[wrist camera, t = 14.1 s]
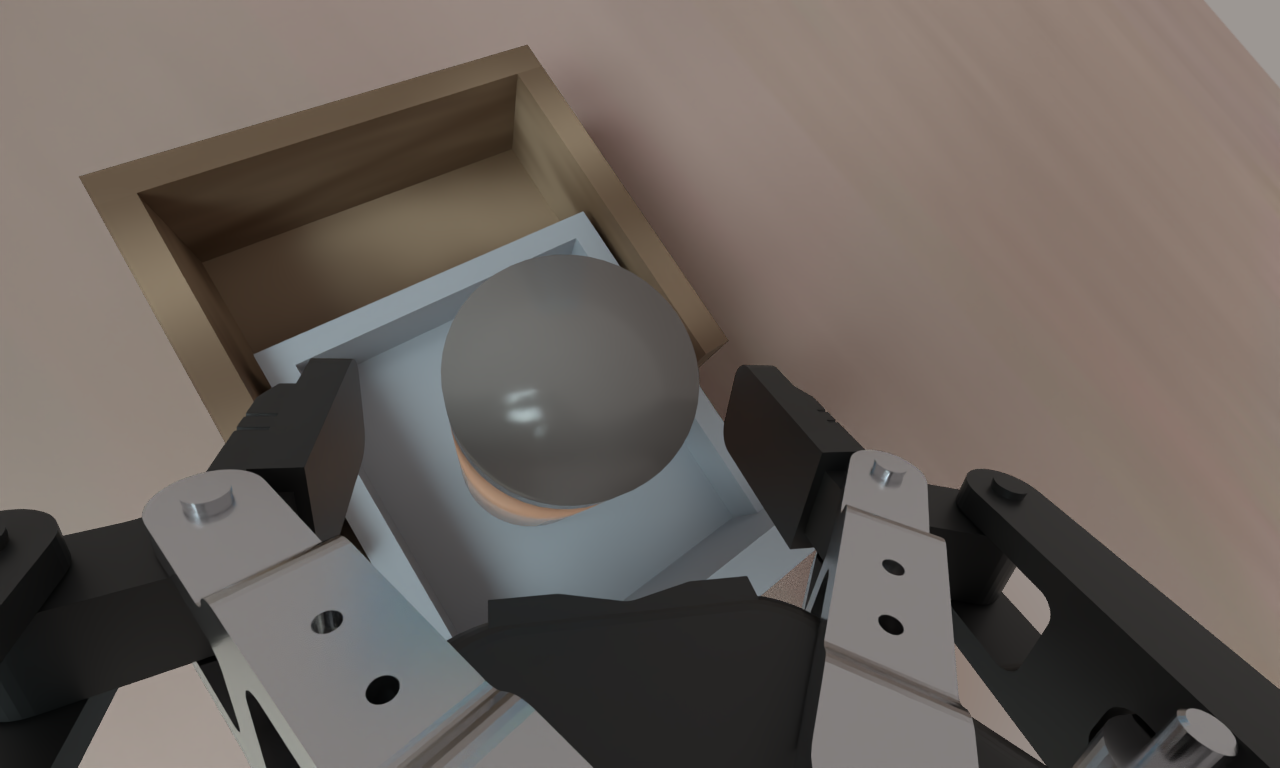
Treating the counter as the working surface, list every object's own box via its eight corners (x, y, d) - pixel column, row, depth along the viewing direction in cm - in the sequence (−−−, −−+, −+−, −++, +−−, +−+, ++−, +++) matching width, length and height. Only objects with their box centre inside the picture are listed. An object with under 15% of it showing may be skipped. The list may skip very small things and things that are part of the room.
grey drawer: (793, 545, 23) (903, 539, 17) (473, 809, 18) (468, 934, 12) (596, 248, 24) (633, 147, 18) (250, 410, 19) (146, 342, 13)
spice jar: (508, 556, 18) (533, 559, 10) (432, 430, 19) (388, 321, 10) (629, 476, 20) (745, 415, 11) (557, 361, 21) (613, 218, 12)
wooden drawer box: (680, 383, 24) (728, 340, 19) (350, 585, 19) (307, 592, 14) (519, 138, 25) (527, 44, 21) (171, 264, 20) (79, 176, 16)
